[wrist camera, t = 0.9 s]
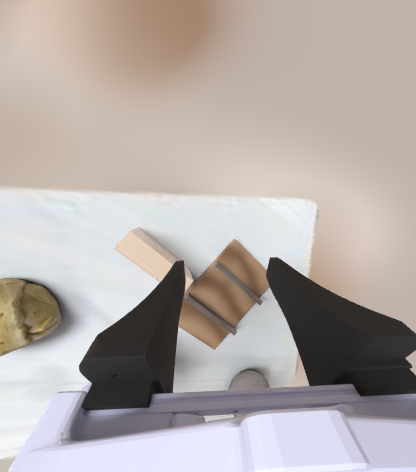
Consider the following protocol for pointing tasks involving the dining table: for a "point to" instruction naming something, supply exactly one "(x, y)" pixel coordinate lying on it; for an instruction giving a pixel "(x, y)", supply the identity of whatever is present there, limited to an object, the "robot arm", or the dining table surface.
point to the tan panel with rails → (223, 295)
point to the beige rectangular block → (149, 255)
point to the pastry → (25, 314)
